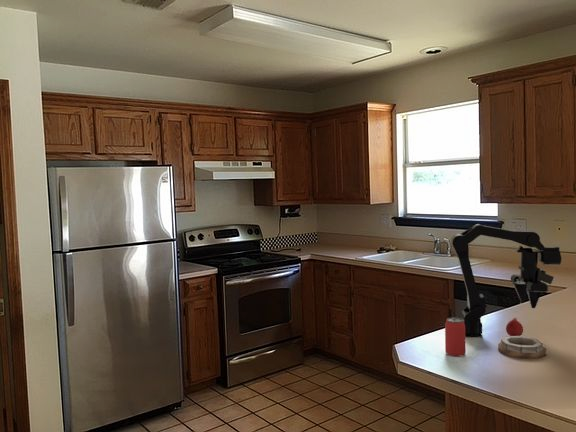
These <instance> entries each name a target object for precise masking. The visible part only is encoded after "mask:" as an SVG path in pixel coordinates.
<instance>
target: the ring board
mask: <svg viewBox="0 0 576 432" xmlns="http://www.w3.org/2000/svg"><path fill="white" fill-rule="evenodd" d="M497 350H498V352H499V353H501V354H503V355H505V356H508V357H512V358H517V359H526V360H533V359H536V360H537V359H541V358H544V357H546V356H547V349H546V347H545V346H544V343H543V342H542V341H541V340H539V339H537V338H534V337H528V336H524V335H523V336H522V335H521V336H509V335H508V336H505V337H503V338H501V339H500V342H499V343H498V344H497Z"/></svg>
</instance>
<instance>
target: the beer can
mask: <svg viewBox="0 0 576 432" xmlns="http://www.w3.org/2000/svg"><path fill="white" fill-rule="evenodd" d="M463 321H464V320H463V319H462V318H459V317H448V318H446V321H445V324H444V337H445V341H444V342H445V344H444V346H445V353H446V354H447V355H448V356H450V357H451V356H452V357H462V356H463V357H464V356H465V355H466V353H467V349H466V348H467V347H466V336H465V324H464V322H463Z"/></svg>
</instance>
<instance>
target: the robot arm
mask: <svg viewBox="0 0 576 432" xmlns="http://www.w3.org/2000/svg"><path fill="white" fill-rule="evenodd" d="M480 236H485V237H489V238H495V239H496V238H497V239H502V240H506V241H512V242H516V243H518V244H521V245H519V246H518V247H517V248H515V250H514V251H515V252H517V253H520V265H518V269H519V270H520V272H519V274H512V275H511V277H510V282H511V285H513V288H514V289H515V291H516V294H517V296H518V298H519V300H520V302H521V303H525V301H526V297H528V301H529V304H530V306H531V307H530V308H532V309H536V307H537V305H538V302H539V299H540V297H541V295H543V294H546V293H547V292H548V291H549V285H552V283H553V281H554V278H555V277H554V276H553V275H551V274H548V273H547V271H546V270H544V269H541V268H540V267H539V266H538V264H539V263H541V265H545V266H560V265H561V264H562V255H561V251H560V247H558V246H544V244H543V243H542V242H541V238H540V235H539V234H538V233H537V232H534V231H532V230H521V229H520V230H519V229H518V230H511V229H505V228H499V227H493V226H489V225H488V226H487V225H482V224H480V223H477V224H475V225H473V226H472V227H470V228H468V229H467V230H464V231H463V232H461V233H456V234H454V235H452V237H451V239H450V244H451V247H452V249H453V251H454V253H455V255H456V257H457V258H458V262H459V267H460V270H461V274H462V278H463V282H464V285H465V288H466V294H467V295H466V300H467V303H466V304H467V306H466V307H465V308H463V309H462V310H461V312H462V315H463V317H461V319H463V320H464V321H463V322H464V324H465V338H466V337H467V338H468V337H469V338H470V337H471V338H472V337H483V322H482V319H481V318H482V317H483V316H484V315H485V314H486V312H487V309H486V308H488V306H487V304H486V298H485V296H484V295H483V294H482V293H479V292H478V291H479V290H478V287H477V285H476V281H475V275H474V272H473V269H472V265H471V260H470V257H469V255H470V254H469V253H470V252H469V250H470V249H469V244H470V243H472V242H473V241H475V240H476V239H477V238H478V237H480ZM522 245H523V246H524V247H523V246H522ZM525 246H526V247H525ZM532 248H533V249H532ZM534 249H536V250H534ZM538 262H539V263H538ZM526 294H527V295H526Z"/></svg>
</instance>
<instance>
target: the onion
mask: <svg viewBox="0 0 576 432" xmlns="http://www.w3.org/2000/svg"><path fill="white" fill-rule="evenodd" d="M505 332H506V333H507V335H508V336H522V334H523V333H524V327H523V325H522V324H521V322H520V321H518V319H517V317H513V319H511V320H509V321H508V322H507V324H506V326H505Z"/></svg>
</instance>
